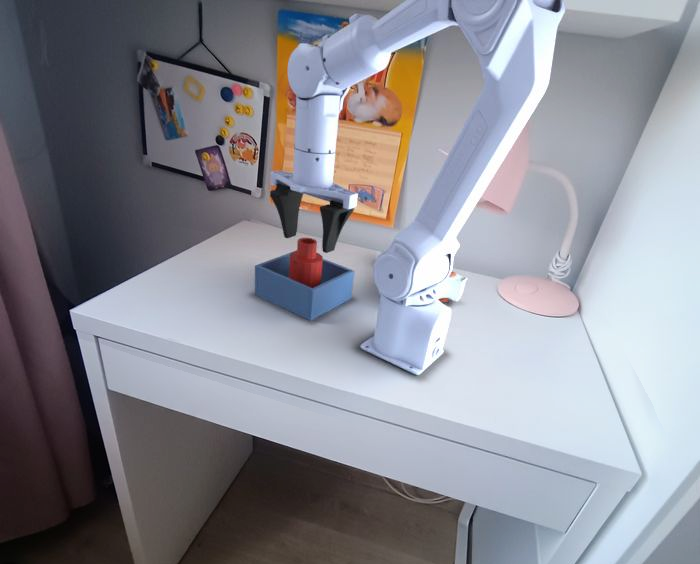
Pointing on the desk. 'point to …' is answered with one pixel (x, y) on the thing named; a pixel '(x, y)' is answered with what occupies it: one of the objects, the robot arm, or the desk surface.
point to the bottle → (306, 263)
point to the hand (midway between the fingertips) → (308, 243)
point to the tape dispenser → (451, 288)
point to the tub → (303, 287)
